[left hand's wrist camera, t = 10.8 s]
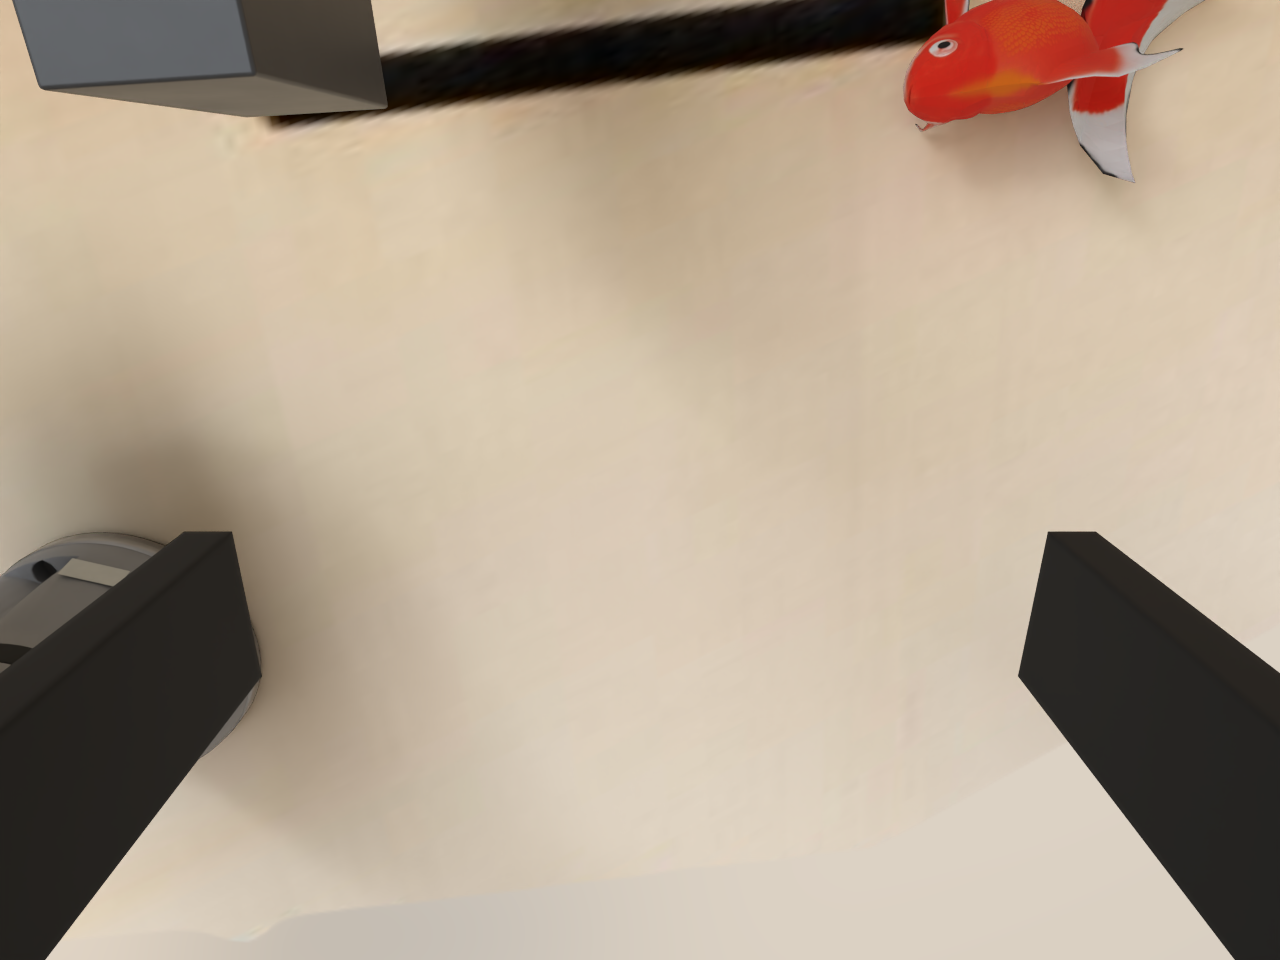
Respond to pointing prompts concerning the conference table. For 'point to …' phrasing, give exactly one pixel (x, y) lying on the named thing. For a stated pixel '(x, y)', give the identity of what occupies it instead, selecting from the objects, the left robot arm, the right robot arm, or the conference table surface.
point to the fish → (1042, 64)
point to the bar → (209, 53)
